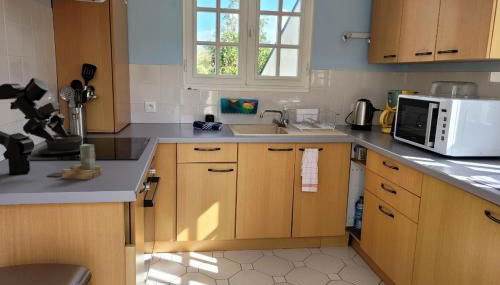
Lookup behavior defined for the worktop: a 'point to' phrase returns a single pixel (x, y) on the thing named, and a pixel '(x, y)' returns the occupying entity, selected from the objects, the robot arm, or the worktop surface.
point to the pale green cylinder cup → (88, 159)
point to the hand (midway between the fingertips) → (61, 139)
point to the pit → (55, 175)
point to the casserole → (63, 145)
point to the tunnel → (78, 172)
